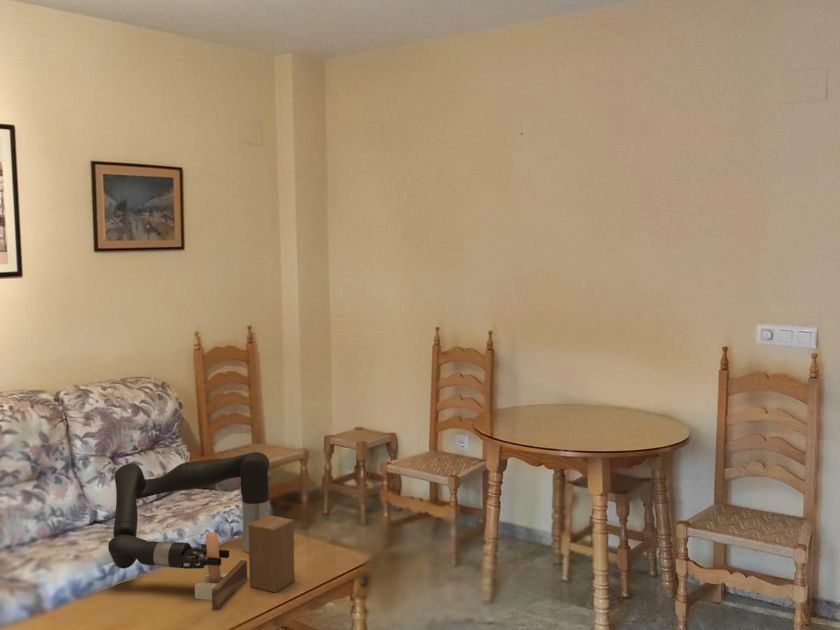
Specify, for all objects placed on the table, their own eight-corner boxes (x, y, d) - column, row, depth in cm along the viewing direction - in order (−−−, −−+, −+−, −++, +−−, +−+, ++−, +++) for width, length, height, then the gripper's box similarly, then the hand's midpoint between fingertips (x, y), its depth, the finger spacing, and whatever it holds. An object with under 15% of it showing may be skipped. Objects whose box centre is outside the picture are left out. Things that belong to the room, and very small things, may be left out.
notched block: (195, 598, 245) (194, 585, 245) (208, 584, 255) (208, 572, 254) (220, 600, 244) (220, 587, 243) (233, 586, 253) (232, 574, 253)
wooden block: (249, 587, 253) (247, 524, 251) (269, 575, 262) (268, 514, 260) (275, 593, 248) (273, 529, 247) (295, 581, 257) (293, 519, 255)
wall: (212, 609, 238) (211, 589, 237) (241, 578, 259) (240, 560, 259) (218, 609, 237) (218, 589, 237) (247, 578, 259) (246, 560, 258)
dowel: (218, 588, 252) (214, 531, 250) (223, 592, 249) (219, 534, 247) (208, 592, 249) (203, 534, 248) (213, 595, 247) (208, 537, 245)
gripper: (160, 551, 243) (214, 554, 240) (182, 534, 257) (234, 537, 254) (161, 575, 244) (215, 579, 241) (183, 557, 258) (234, 560, 255)
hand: (224, 557), depth 248 cm, fingers open, 5 cm apart
